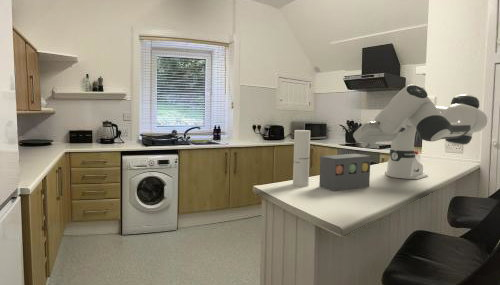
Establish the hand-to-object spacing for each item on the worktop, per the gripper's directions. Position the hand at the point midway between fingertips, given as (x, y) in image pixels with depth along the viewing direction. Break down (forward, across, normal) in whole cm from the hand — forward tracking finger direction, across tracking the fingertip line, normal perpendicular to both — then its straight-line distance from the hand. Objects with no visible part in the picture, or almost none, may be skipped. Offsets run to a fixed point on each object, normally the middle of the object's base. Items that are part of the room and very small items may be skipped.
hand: (364, 146), depth 133 cm
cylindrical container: (+35, -8, +6) cm, 36 cm away
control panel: (+27, +8, -2) cm, 28 cm away
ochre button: (+19, +16, +1) cm, 25 cm away
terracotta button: (+20, 0, +1) cm, 20 cm away
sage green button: (+19, +8, +1) cm, 21 cm away
